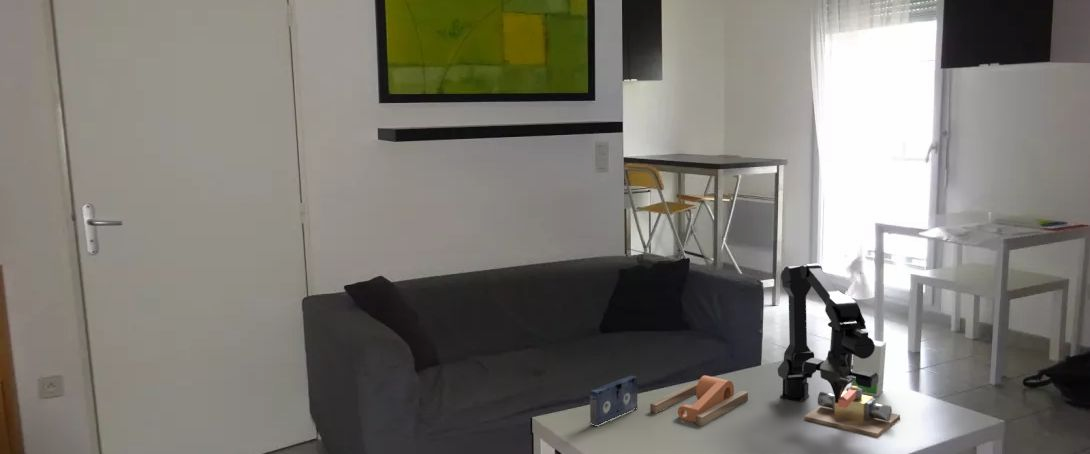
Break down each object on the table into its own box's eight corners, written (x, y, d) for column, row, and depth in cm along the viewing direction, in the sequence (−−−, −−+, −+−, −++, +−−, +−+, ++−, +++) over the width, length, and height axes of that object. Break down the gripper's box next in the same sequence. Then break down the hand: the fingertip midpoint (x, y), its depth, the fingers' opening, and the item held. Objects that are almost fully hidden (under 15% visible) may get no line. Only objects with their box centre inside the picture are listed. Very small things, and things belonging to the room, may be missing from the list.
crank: (710, 398, 246) (710, 372, 245) (733, 403, 241) (734, 377, 240) (673, 417, 232) (673, 390, 230) (698, 423, 226) (698, 396, 225)
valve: (815, 410, 231) (815, 393, 230) (825, 403, 236) (825, 386, 236) (884, 426, 219) (884, 408, 218) (893, 418, 224) (893, 401, 223)
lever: (848, 392, 229) (849, 383, 229) (863, 395, 227) (863, 386, 227) (834, 406, 219) (834, 397, 219) (849, 409, 217) (850, 400, 216)
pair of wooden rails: (650, 412, 235) (650, 403, 235) (697, 388, 254) (697, 380, 254) (702, 426, 224) (702, 417, 224) (747, 400, 243) (748, 391, 243)
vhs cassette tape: (631, 407, 240) (631, 374, 238) (639, 410, 237) (639, 376, 236) (588, 425, 227) (588, 390, 225) (596, 427, 225) (596, 392, 223)
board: (804, 419, 227) (804, 416, 227) (829, 402, 240) (829, 399, 240) (877, 437, 214) (877, 433, 214) (899, 418, 227) (900, 415, 226)
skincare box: (850, 392, 248) (851, 342, 246) (855, 386, 254) (857, 337, 252) (879, 397, 244) (881, 346, 241) (884, 390, 249) (886, 340, 247)
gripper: (795, 346, 219) (791, 401, 221) (865, 361, 207) (860, 420, 209) (812, 337, 227) (809, 391, 229) (881, 352, 215) (876, 408, 217)
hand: (837, 402), depth 221 cm, fingers closed
